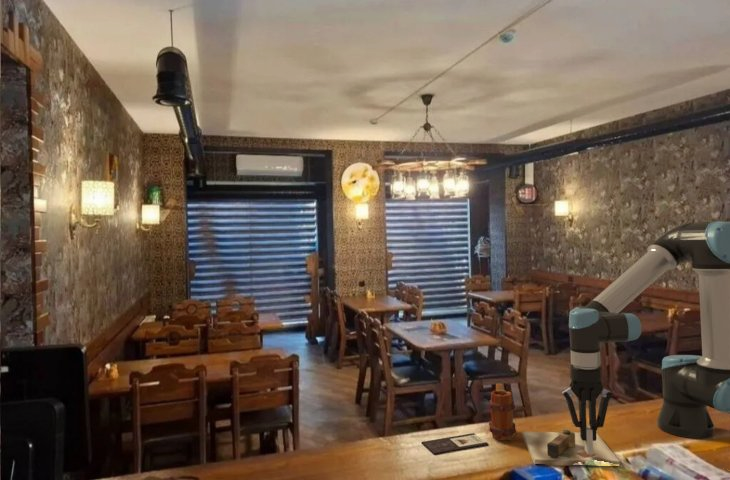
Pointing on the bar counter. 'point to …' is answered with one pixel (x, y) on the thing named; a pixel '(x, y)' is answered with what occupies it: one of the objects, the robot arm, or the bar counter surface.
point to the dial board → (571, 455)
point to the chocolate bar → (454, 443)
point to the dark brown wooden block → (561, 443)
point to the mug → (502, 414)
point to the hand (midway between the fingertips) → (588, 451)
